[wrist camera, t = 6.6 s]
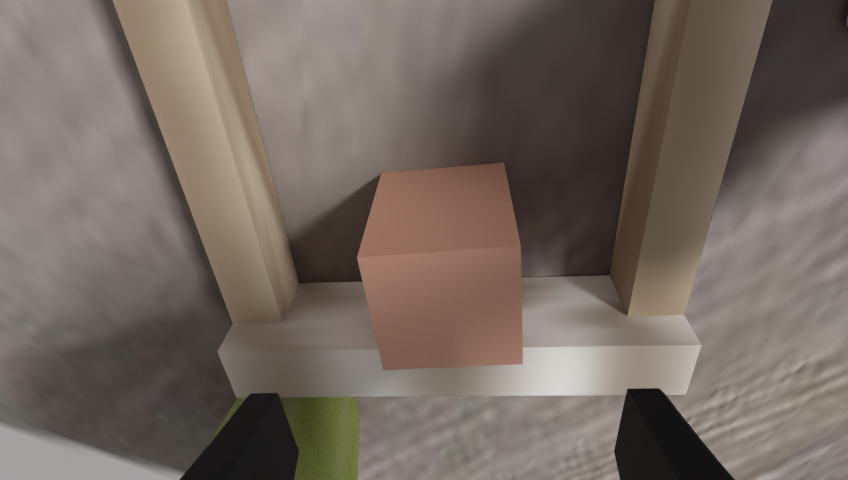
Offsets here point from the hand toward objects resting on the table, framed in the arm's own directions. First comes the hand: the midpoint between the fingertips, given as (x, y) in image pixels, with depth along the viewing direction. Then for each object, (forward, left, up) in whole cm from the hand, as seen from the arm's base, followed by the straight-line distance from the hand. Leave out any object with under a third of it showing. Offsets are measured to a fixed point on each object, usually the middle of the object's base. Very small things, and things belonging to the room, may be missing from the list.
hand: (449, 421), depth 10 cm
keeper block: (0, +1, -10) cm, 10 cm away
